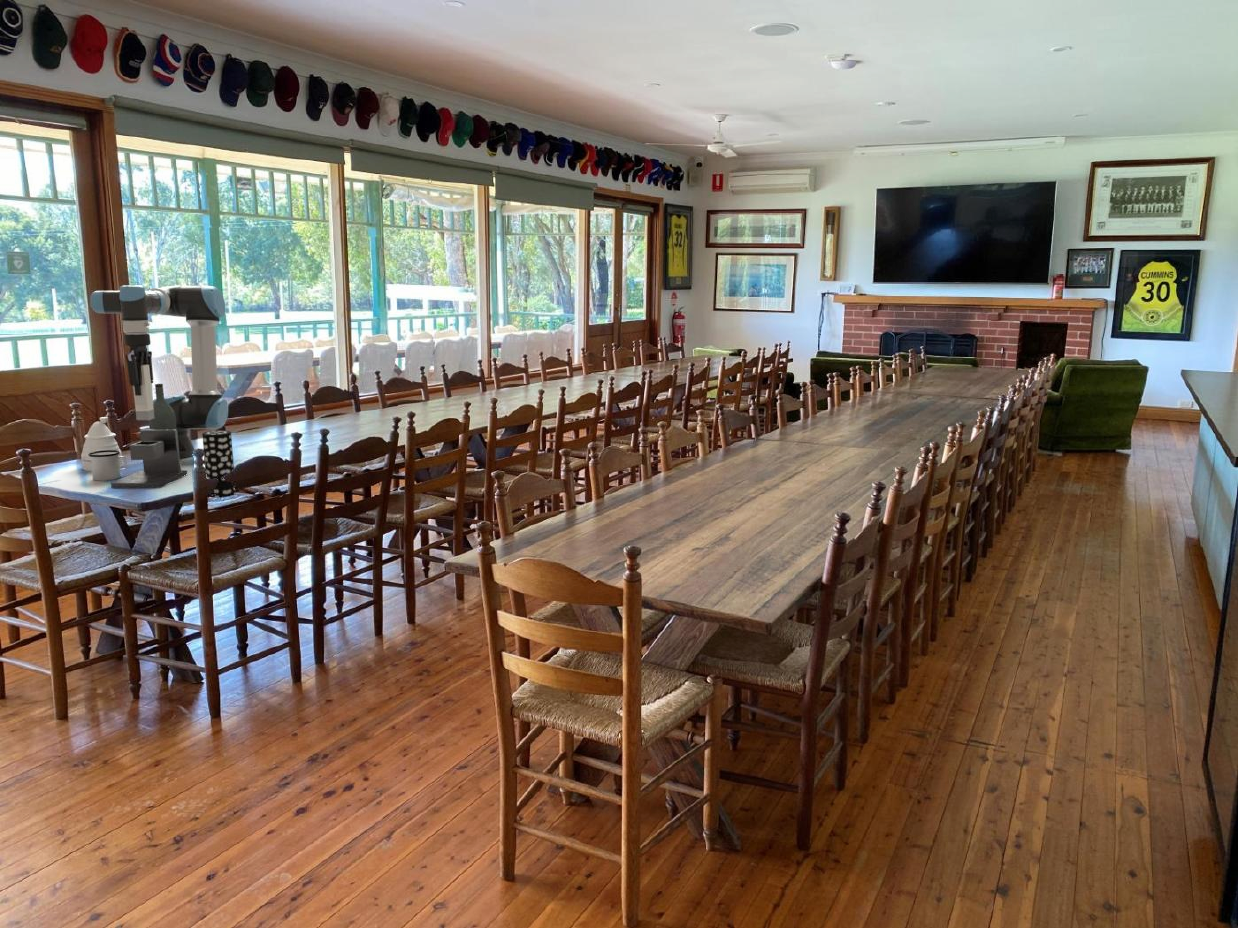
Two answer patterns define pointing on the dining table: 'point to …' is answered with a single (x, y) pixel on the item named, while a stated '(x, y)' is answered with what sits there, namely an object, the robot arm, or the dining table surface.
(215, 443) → the black dotted tall container
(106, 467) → the mug
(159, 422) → the bottle
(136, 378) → the robot arm
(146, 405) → the tall white block
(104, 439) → the honey pot
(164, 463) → the coffee machine
